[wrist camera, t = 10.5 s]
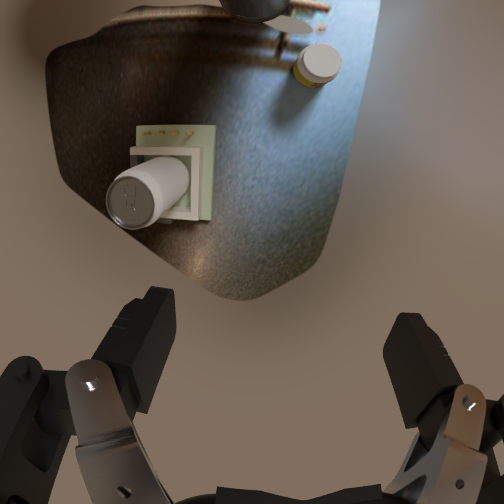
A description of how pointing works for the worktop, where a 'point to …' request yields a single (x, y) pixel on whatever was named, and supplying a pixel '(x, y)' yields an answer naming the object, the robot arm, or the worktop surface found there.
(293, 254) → the worktop surface
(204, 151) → the socket board
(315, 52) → the supplement bottle
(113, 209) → the can
